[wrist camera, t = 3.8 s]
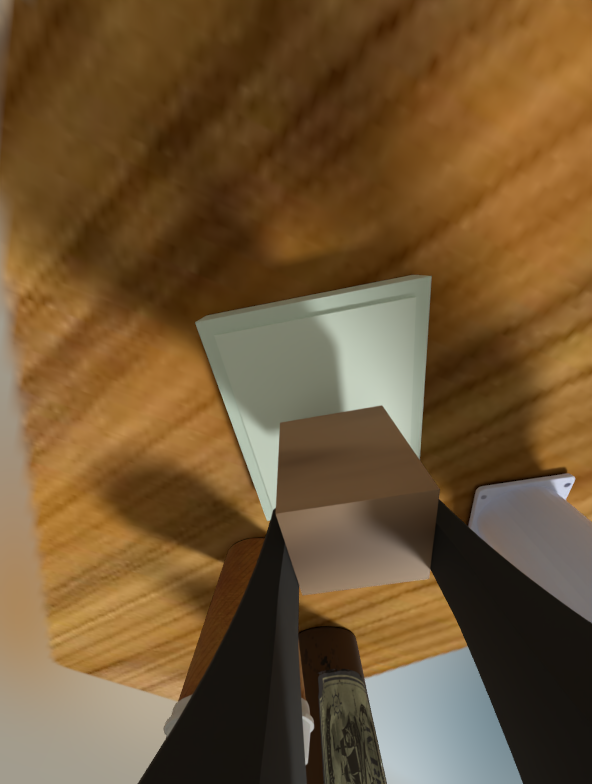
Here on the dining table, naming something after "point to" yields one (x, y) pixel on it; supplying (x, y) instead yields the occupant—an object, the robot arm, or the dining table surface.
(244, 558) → the disposable coffee cup
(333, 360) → the serving board
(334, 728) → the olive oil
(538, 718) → the robot arm
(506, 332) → the dining table surface
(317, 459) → the walnut block
